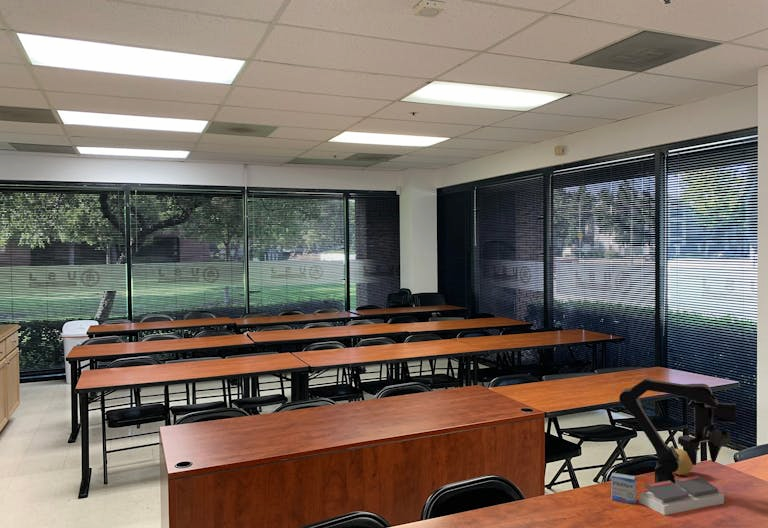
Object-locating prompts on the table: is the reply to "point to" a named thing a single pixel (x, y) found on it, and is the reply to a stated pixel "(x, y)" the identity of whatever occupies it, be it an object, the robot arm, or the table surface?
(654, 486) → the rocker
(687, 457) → the stress ball
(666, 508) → the light switch base
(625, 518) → the table surface
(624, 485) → the medicine box
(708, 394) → the robot arm
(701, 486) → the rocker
